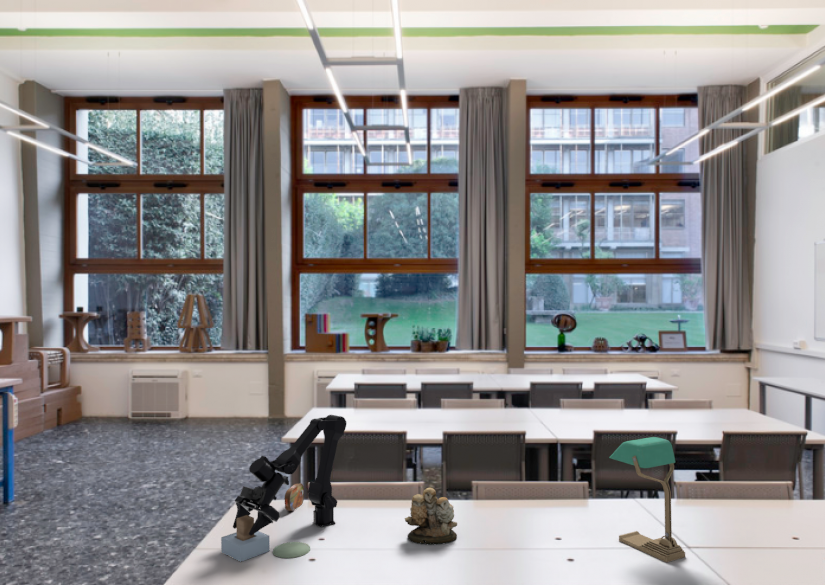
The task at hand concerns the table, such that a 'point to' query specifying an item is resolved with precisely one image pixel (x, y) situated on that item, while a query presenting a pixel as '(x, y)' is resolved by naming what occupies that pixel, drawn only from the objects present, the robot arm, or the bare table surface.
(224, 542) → the slate-blue holder
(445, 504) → the owl figurine
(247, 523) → the walnut peg
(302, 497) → the tin
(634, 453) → the banker's lamp
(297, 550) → the sage-green mat
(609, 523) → the table surface
